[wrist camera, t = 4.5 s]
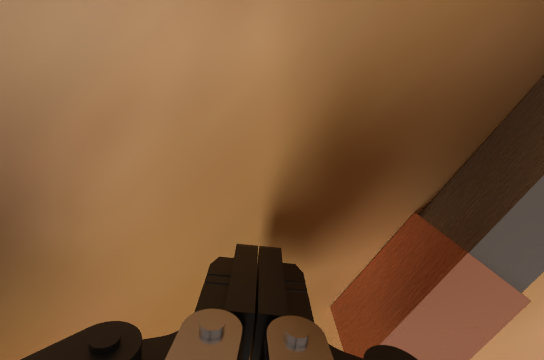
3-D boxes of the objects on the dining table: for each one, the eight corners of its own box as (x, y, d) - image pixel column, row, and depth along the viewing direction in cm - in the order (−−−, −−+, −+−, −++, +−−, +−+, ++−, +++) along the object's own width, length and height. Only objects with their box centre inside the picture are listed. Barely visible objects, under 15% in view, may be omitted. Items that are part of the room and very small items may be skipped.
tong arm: (657, -61, 10) (840, -135, 7) (706, -5, 10) (899, -49, 7) (330, 307, 13) (351, 373, 10) (378, 339, 13) (413, 412, 10)
